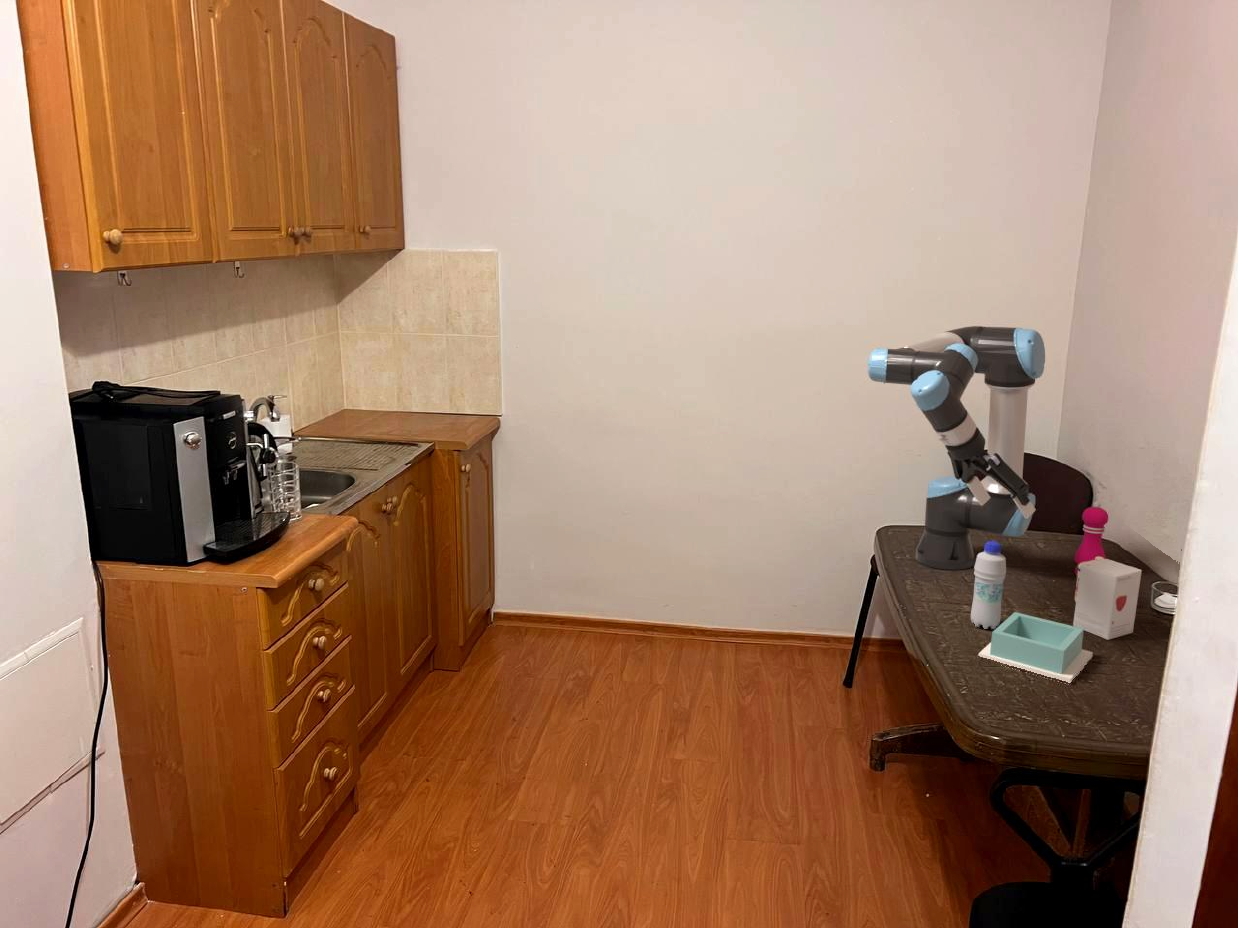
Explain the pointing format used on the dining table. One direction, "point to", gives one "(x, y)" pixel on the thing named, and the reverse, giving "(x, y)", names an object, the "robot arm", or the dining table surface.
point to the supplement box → (1107, 598)
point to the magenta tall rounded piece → (1092, 535)
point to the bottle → (988, 586)
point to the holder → (1038, 647)
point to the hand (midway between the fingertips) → (1007, 507)
